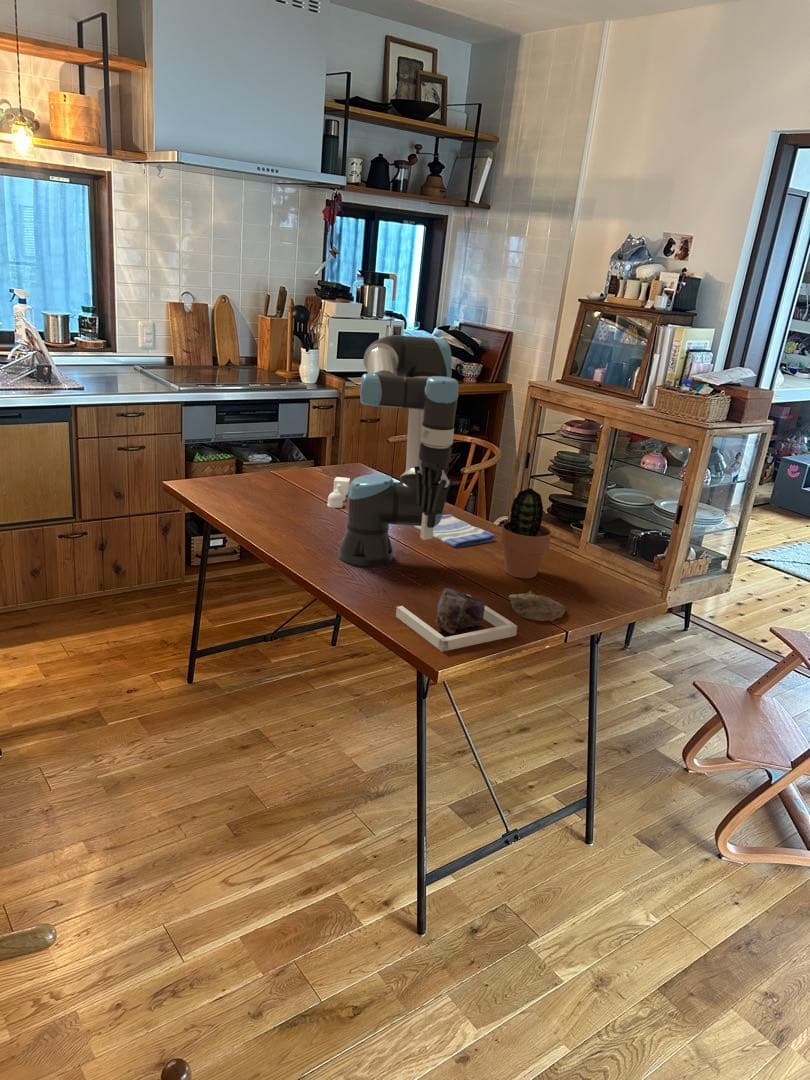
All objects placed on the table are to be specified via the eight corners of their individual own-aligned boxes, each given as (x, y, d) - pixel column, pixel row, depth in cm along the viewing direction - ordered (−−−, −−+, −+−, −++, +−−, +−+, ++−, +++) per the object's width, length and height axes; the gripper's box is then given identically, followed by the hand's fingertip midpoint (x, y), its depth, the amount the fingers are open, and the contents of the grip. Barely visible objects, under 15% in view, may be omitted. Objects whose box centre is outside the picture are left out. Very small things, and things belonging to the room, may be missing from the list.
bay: (395, 616, 194) (396, 606, 194) (466, 603, 205) (467, 594, 204) (441, 651, 179) (443, 641, 178) (515, 635, 190) (517, 625, 189)
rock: (484, 636, 191) (460, 617, 200) (494, 602, 189) (470, 583, 197) (440, 636, 185) (418, 616, 193) (450, 600, 182) (427, 582, 191)
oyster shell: (569, 625, 199) (573, 603, 197) (509, 619, 199) (513, 597, 197) (563, 606, 210) (566, 585, 208) (506, 600, 210) (509, 579, 208)
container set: (334, 491, 290) (335, 476, 288) (349, 492, 290) (350, 478, 288) (326, 507, 271) (326, 491, 269) (341, 509, 271) (342, 493, 269)
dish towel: (450, 520, 271) (450, 512, 270) (496, 542, 253) (497, 534, 253) (407, 526, 261) (408, 517, 261) (453, 550, 244) (454, 541, 243)
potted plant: (554, 575, 229) (568, 490, 221) (524, 585, 220) (537, 497, 212) (516, 560, 238) (528, 477, 230) (486, 569, 229) (497, 484, 221)
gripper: (407, 438, 194) (399, 530, 202) (438, 452, 184) (428, 549, 192) (433, 436, 198) (424, 527, 206) (465, 450, 188) (454, 545, 196)
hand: (426, 538), depth 199 cm, fingers closed
